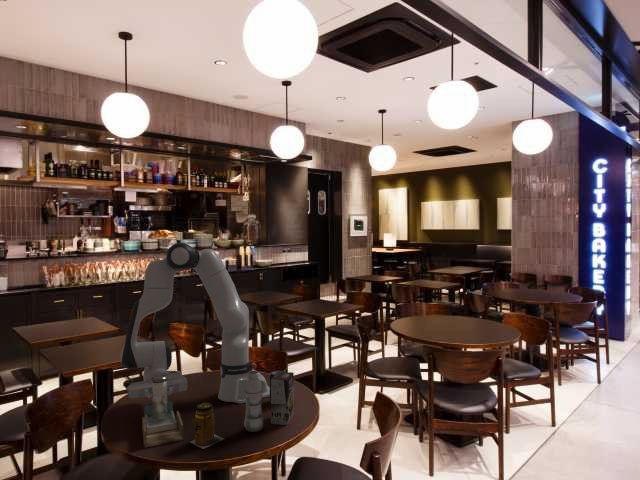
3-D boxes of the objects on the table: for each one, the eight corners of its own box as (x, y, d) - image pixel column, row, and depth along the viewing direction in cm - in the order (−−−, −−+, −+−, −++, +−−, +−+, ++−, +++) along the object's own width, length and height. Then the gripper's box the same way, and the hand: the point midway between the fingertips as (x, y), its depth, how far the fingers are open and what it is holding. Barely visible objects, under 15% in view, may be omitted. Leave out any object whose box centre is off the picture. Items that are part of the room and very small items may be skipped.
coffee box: (287, 425, 154) (287, 380, 154) (270, 424, 155) (270, 379, 155) (294, 414, 163) (294, 372, 163) (277, 413, 164) (277, 371, 164)
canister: (166, 412, 157) (166, 373, 157) (168, 418, 152) (168, 378, 152) (151, 415, 155) (151, 375, 155) (152, 420, 150) (152, 380, 150)
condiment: (189, 442, 142) (189, 405, 142) (211, 433, 148) (211, 398, 148) (202, 449, 137) (202, 411, 137) (224, 439, 144) (224, 403, 143)
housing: (178, 424, 155) (178, 410, 155) (183, 440, 143) (183, 424, 143) (142, 431, 150) (142, 416, 150) (144, 447, 138) (144, 432, 138)
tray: (172, 416, 161) (172, 401, 161) (176, 430, 150) (176, 414, 150) (144, 420, 157) (144, 405, 157) (146, 435, 146) (146, 419, 146)
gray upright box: (283, 406, 171) (283, 375, 171) (266, 404, 173) (266, 374, 173) (289, 399, 178) (289, 370, 177) (273, 398, 180) (273, 369, 179)
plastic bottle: (255, 436, 146) (254, 376, 145) (240, 431, 149) (239, 373, 149) (267, 428, 151) (267, 371, 151) (252, 424, 155) (252, 368, 155)
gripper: (126, 377, 161) (127, 390, 148) (184, 370, 169) (189, 381, 157) (127, 394, 161) (127, 408, 148) (184, 386, 169) (189, 398, 157)
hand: (160, 394), depth 153 cm, fingers closed on canister, 5 cm apart
